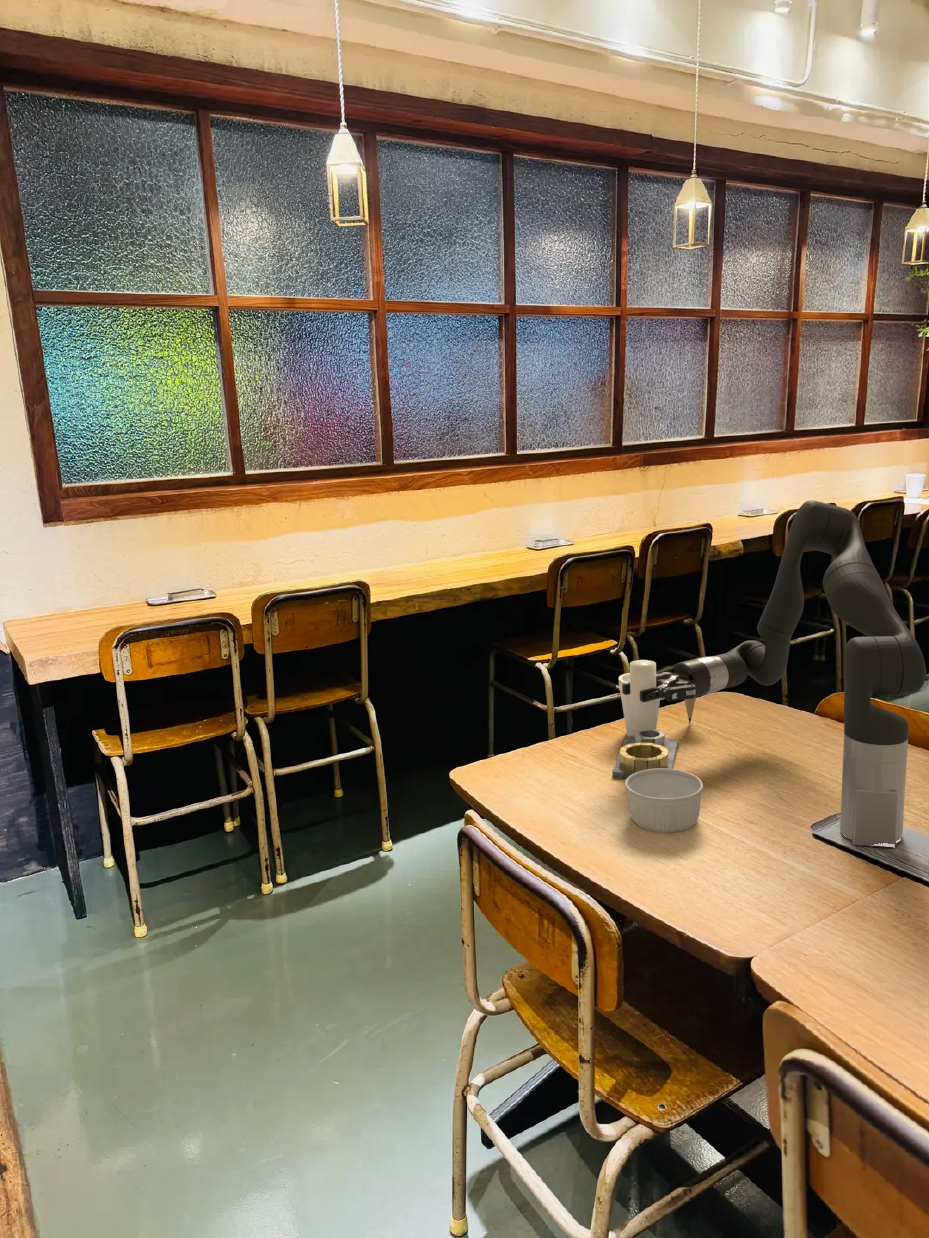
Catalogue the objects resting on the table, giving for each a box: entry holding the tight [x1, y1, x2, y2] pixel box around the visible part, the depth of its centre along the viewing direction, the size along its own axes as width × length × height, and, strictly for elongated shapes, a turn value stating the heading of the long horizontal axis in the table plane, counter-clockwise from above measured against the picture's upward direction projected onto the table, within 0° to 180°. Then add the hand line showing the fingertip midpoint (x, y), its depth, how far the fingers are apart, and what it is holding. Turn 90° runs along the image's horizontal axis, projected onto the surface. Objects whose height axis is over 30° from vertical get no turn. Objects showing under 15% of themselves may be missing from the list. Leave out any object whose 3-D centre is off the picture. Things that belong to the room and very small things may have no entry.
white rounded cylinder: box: [629, 659, 658, 731], centre depth 166 cm, size 5×5×13 cm
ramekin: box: [624, 768, 704, 834], centre depth 147 cm, size 13×13×7 cm
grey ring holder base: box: [611, 728, 679, 780], centre depth 173 cm, size 20×11×4 cm, turn 161°
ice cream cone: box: [683, 697, 697, 724], centre depth 191 cm, size 6×6×15 cm
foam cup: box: [618, 672, 661, 736], centre depth 187 cm, size 10×9×13 cm
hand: (632, 693), depth 165 cm, fingers closed on white rounded cylinder, 5 cm apart
